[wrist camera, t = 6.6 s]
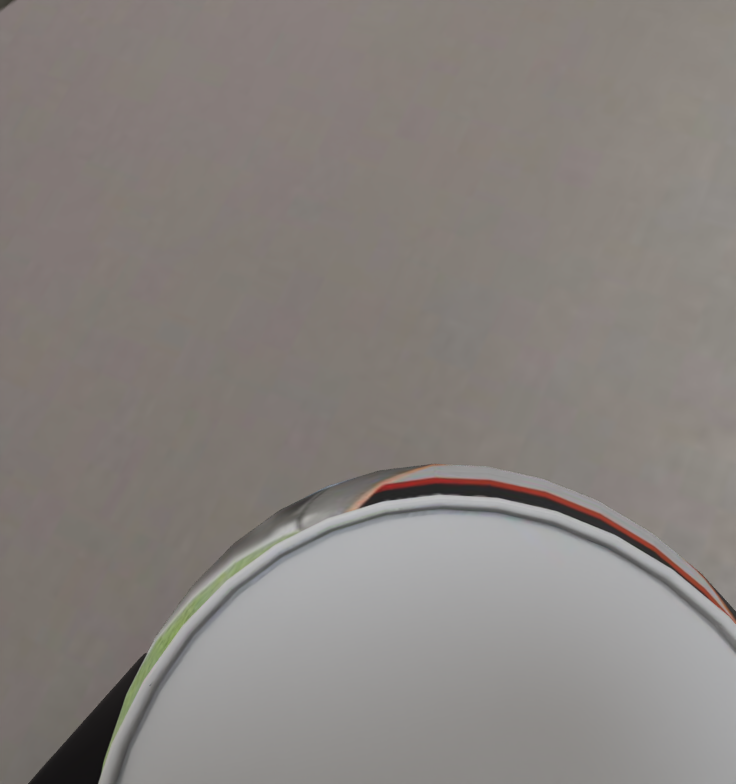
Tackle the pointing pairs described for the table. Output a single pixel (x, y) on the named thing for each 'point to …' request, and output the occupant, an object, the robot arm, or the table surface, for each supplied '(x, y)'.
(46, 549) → the table surface
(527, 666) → the beverage can
